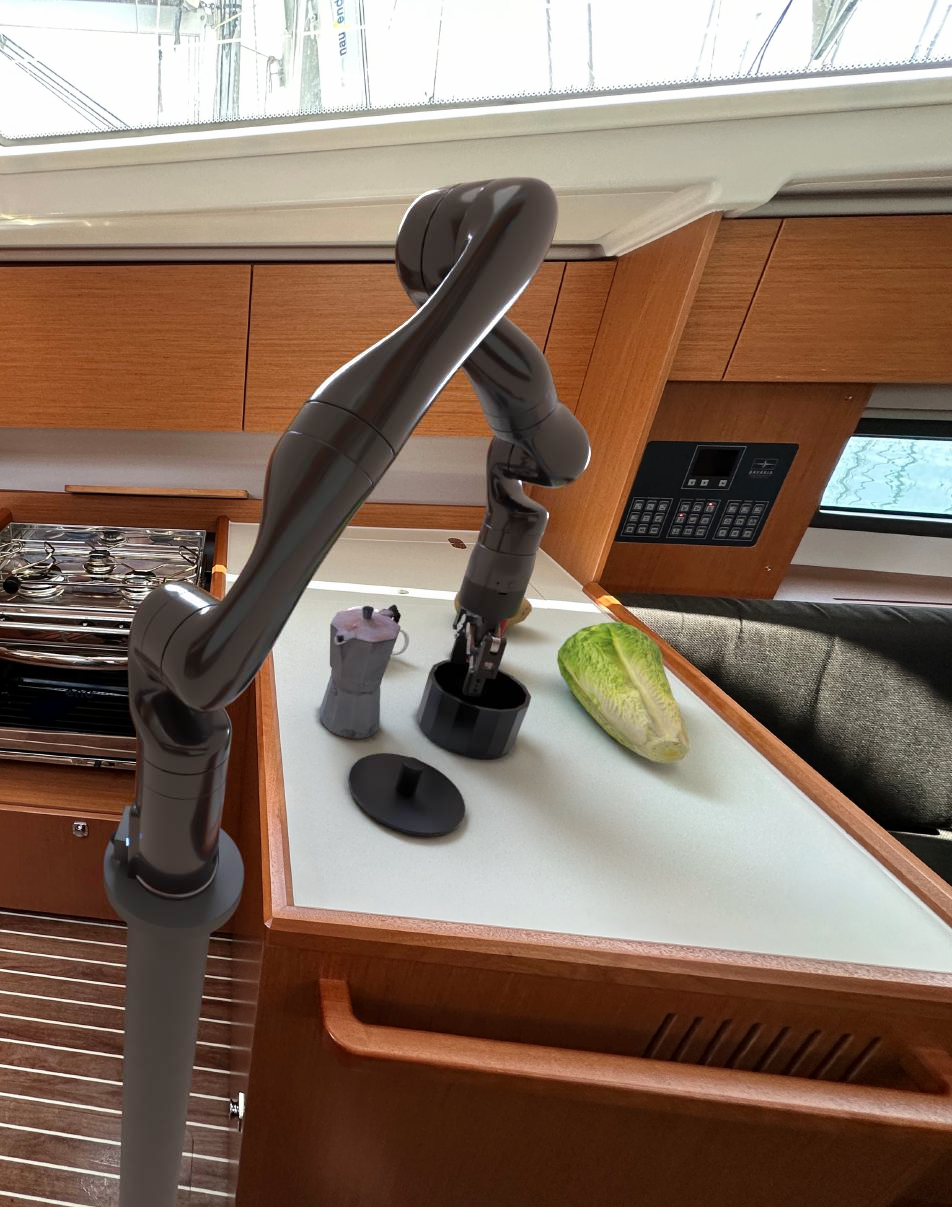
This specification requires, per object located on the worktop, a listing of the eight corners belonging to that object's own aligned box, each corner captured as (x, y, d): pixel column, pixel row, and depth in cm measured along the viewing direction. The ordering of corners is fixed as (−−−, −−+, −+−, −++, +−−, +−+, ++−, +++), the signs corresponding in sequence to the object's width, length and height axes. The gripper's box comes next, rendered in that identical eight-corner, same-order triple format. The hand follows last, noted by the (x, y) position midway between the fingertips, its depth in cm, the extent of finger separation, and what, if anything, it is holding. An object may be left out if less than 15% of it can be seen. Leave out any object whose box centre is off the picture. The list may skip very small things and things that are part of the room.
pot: (424, 750, 88) (439, 702, 84) (410, 698, 99) (423, 654, 96) (524, 767, 86) (544, 718, 82) (498, 711, 97) (514, 666, 93)
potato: (531, 643, 117) (545, 606, 114) (454, 634, 119) (465, 597, 116) (514, 619, 126) (526, 584, 122) (442, 611, 128) (452, 577, 124)
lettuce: (702, 793, 86) (586, 781, 89) (631, 677, 105) (538, 670, 109) (750, 723, 78) (620, 712, 81) (664, 611, 97) (562, 606, 100)
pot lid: (351, 826, 75) (359, 792, 72) (344, 751, 87) (351, 719, 85) (474, 850, 72) (488, 815, 70) (450, 769, 85) (460, 737, 82)
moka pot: (292, 724, 92) (313, 607, 83) (347, 687, 102) (371, 578, 93) (348, 757, 86) (377, 635, 77) (401, 714, 96) (433, 600, 86)
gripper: (454, 554, 88) (427, 649, 96) (479, 595, 76) (445, 702, 83) (511, 560, 87) (478, 657, 94) (545, 604, 75) (505, 711, 82)
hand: (463, 678), depth 89 cm, fingers open, 8 cm apart
